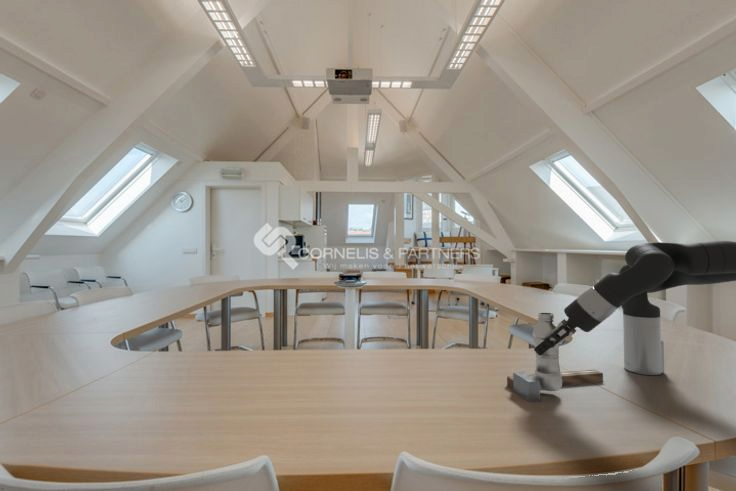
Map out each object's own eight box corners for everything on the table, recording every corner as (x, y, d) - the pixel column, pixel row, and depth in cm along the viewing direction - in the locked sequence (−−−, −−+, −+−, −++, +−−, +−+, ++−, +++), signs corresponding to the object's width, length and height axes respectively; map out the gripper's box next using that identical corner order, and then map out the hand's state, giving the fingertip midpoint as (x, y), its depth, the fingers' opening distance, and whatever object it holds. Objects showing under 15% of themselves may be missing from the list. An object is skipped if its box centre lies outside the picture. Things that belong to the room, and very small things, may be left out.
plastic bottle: (566, 395, 90) (564, 316, 90) (537, 393, 91) (535, 315, 91) (558, 385, 96) (555, 311, 96) (531, 384, 97) (529, 311, 98)
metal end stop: (523, 390, 97) (523, 371, 97) (540, 400, 90) (539, 381, 90) (513, 390, 96) (513, 372, 96) (529, 401, 89) (528, 382, 89)
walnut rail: (594, 377, 104) (594, 369, 105) (603, 381, 102) (602, 372, 102) (507, 385, 100) (507, 376, 100) (513, 389, 97) (512, 379, 97)
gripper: (600, 326, 80) (544, 368, 88) (606, 316, 91) (556, 354, 99) (572, 301, 84) (521, 344, 91) (582, 294, 95) (535, 333, 102)
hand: (540, 349), depth 95 cm, fingers closed on plastic bottle, 6 cm apart
